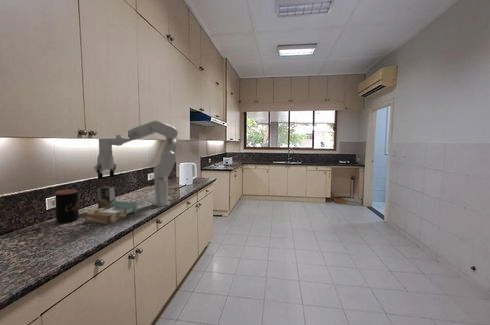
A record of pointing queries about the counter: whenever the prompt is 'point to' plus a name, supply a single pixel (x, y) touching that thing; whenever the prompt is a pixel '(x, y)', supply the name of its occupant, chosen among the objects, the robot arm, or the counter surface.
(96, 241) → the counter surface
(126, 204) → the tray
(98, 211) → the wooden drawer box
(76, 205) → the coffee jar
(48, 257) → the counter surface
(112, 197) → the coffee box
